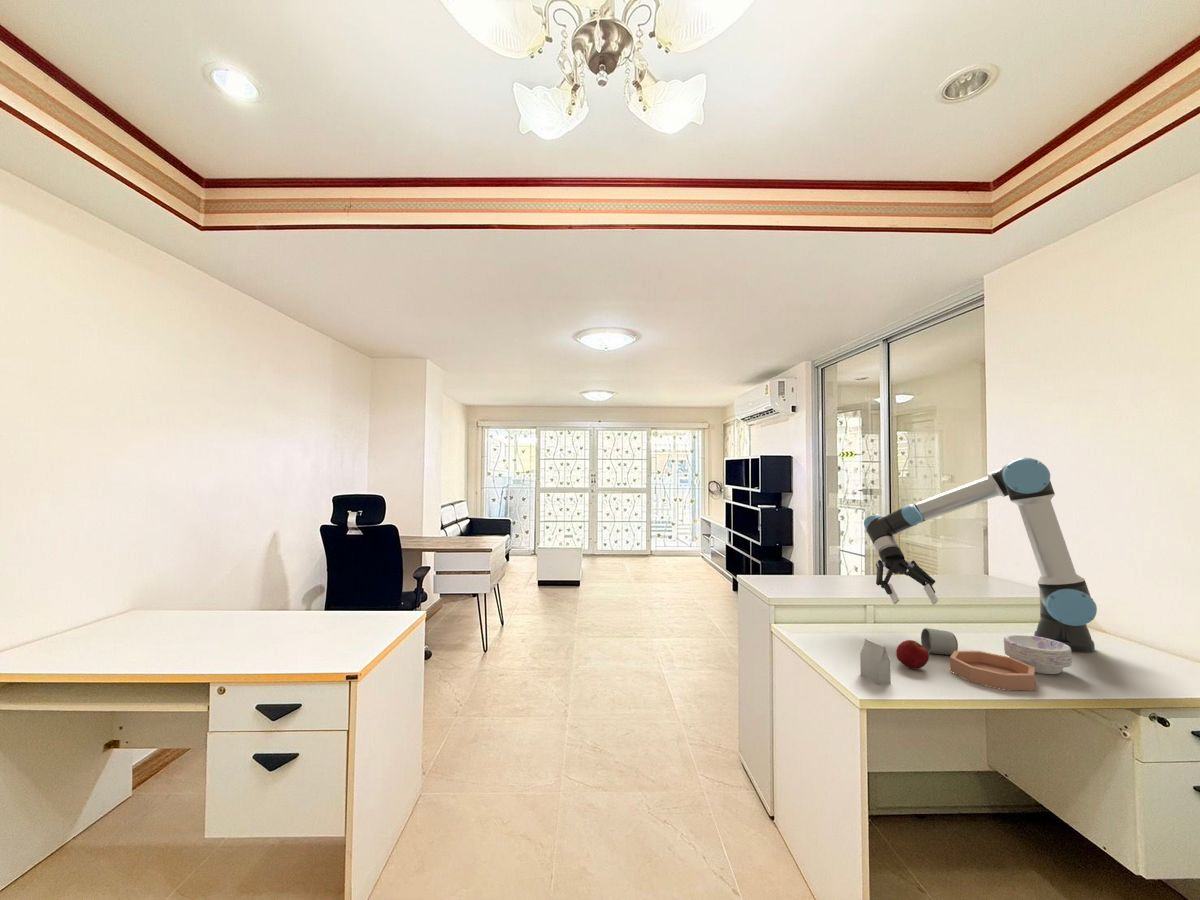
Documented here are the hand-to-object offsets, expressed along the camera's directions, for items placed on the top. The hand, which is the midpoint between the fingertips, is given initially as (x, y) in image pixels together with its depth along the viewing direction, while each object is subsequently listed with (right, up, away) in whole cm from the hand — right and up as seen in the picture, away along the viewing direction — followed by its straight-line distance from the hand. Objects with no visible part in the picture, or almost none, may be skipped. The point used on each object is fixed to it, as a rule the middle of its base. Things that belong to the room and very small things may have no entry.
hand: (916, 602), depth 170 cm
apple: (-16, -12, -23) cm, 31 cm away
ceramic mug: (+1, -14, -9) cm, 16 cm away
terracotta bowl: (+3, -12, -29) cm, 31 cm away
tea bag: (-32, -12, -32) cm, 47 cm away
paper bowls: (+22, -13, -22) cm, 34 cm away
